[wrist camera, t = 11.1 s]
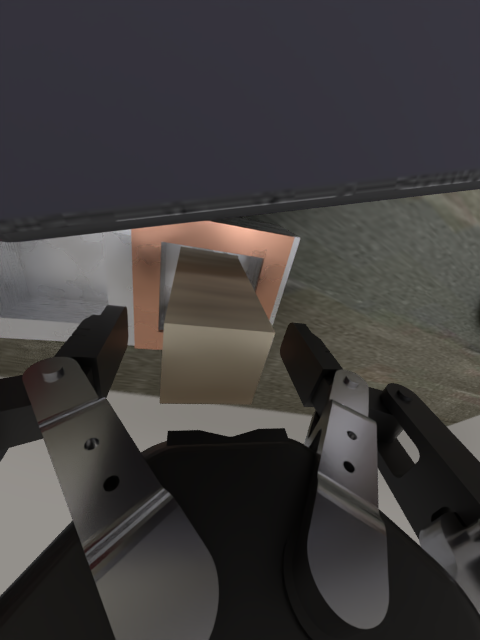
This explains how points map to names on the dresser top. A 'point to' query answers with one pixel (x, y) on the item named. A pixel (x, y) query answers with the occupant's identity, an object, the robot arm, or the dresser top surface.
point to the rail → (129, 275)
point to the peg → (212, 332)
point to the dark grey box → (229, 108)
